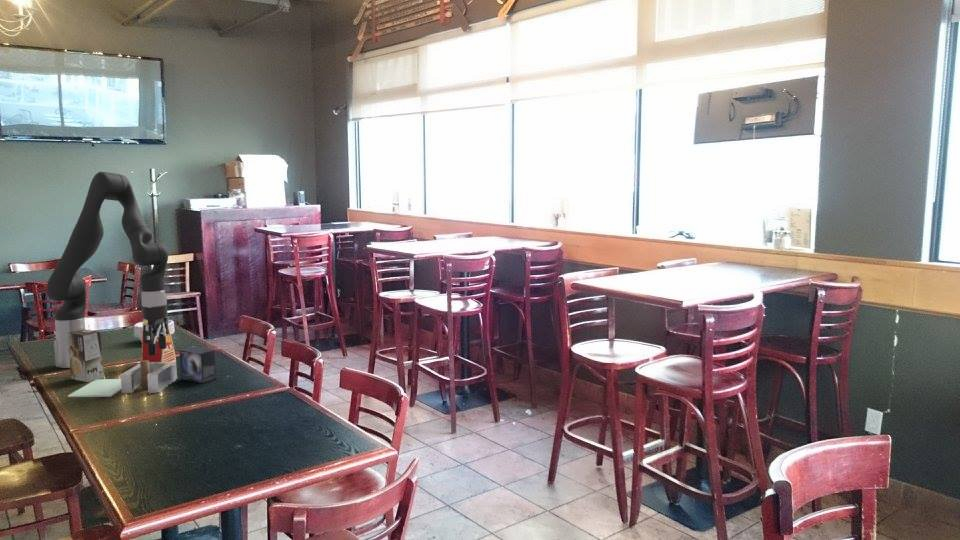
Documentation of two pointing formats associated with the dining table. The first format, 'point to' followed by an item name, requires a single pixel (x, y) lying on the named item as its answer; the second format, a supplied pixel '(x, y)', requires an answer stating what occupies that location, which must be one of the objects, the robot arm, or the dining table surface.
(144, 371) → the stand
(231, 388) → the dining table surface
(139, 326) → the paper bowls
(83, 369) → the coffee box
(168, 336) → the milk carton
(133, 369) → the c link
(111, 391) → the mat
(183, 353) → the small box
